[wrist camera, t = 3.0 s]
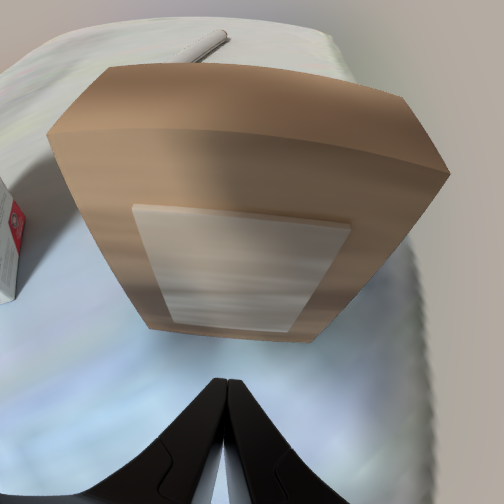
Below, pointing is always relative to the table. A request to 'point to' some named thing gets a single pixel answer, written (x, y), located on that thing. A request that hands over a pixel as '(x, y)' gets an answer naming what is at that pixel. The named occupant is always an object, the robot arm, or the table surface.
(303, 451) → the table surface
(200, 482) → the robot arm
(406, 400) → the table surface
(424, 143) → the brown cardboard box
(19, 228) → the ink box
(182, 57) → the tube
